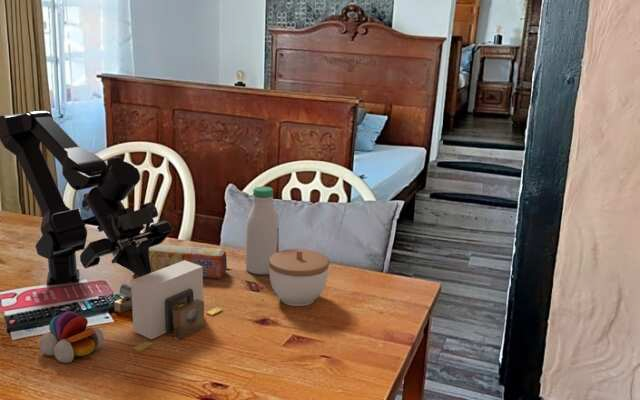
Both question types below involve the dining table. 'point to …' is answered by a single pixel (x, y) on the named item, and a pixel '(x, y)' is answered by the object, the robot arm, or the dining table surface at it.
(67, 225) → the robot arm
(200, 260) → the snack package
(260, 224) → the milk bottle
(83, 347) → the rainbow petal fan
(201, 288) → the sleeve
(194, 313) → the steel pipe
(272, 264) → the lidded bowl
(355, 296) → the dining table surface
